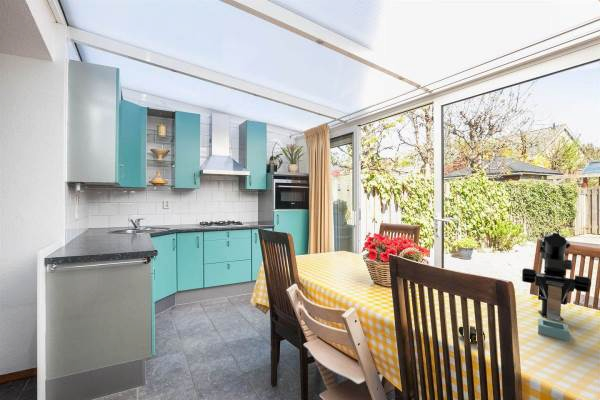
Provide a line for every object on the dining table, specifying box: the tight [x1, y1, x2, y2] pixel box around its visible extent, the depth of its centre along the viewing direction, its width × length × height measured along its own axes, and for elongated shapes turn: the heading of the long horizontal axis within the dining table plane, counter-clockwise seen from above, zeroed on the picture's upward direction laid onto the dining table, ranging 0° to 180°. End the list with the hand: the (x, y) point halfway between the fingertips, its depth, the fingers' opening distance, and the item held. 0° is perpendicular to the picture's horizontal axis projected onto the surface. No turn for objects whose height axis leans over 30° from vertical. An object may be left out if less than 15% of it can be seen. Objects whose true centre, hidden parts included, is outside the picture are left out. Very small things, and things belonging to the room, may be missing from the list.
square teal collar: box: [537, 317, 570, 342], centre depth 105 cm, size 8×8×3 cm
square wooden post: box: [546, 285, 562, 321], centre depth 105 cm, size 4×4×11 cm
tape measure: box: [458, 325, 486, 344], centre depth 97 cm, size 7×7×4 cm
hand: (554, 300), depth 104 cm, fingers closed on square wooden post, 3 cm apart
